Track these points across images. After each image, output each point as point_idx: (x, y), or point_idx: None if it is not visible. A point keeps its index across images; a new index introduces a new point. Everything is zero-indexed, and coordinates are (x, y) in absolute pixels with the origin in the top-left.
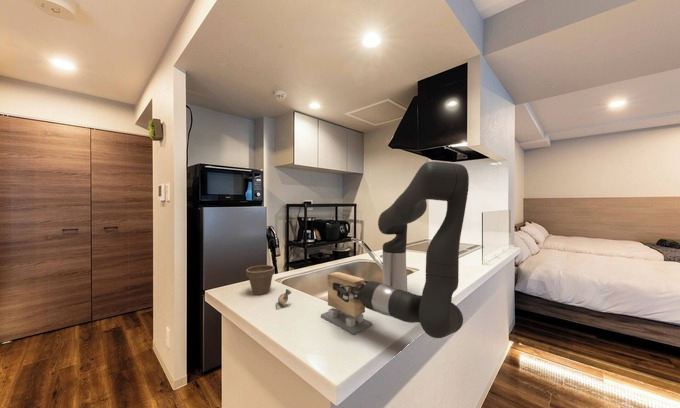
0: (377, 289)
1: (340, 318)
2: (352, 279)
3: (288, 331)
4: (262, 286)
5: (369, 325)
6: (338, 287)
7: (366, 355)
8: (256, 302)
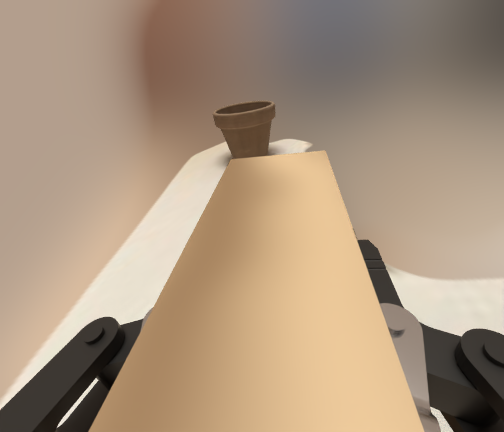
0: None
1: None
2: (224, 365)
3: (117, 308)
4: (239, 148)
5: None
6: (84, 336)
7: None
8: (212, 180)
